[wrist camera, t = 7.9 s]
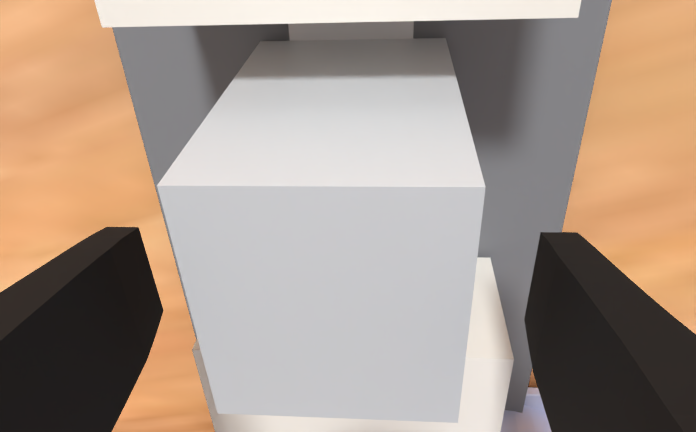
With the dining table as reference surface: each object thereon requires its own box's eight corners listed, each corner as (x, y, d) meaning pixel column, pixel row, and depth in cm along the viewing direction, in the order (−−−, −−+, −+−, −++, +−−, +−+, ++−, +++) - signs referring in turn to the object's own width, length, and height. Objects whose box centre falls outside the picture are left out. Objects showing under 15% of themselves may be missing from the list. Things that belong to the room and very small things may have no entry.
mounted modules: (478, 349, 19) (495, 457, 15) (248, 343, 19) (218, 444, 16) (559, -266, 10) (642, -325, 7) (134, -239, 11) (15, -281, 7)
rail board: (512, 414, 22) (518, 440, 21) (225, 403, 23) (217, 428, 22) (739, -710, 8) (789, -790, 7) (-30, -615, 9) (-84, -674, 8)
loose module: (435, 213, 16) (457, 423, 10) (281, 211, 16) (217, 413, 10) (445, 38, 13) (485, 187, 7) (260, 41, 13) (156, 185, 8)
